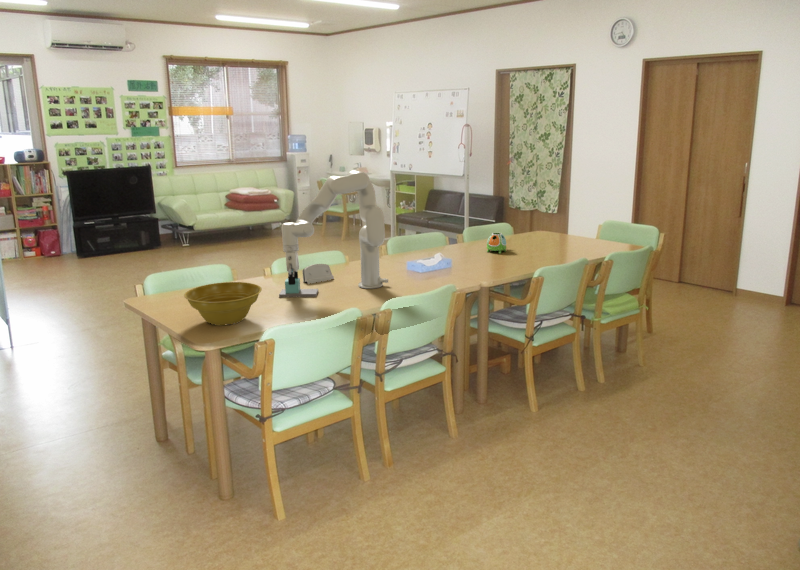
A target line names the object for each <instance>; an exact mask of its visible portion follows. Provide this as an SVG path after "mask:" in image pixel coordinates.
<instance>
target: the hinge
mask: <svg viewBox="0 0 800 570" xmlns="http://www.w3.org/2000/svg"><path fill="white" fill-rule="evenodd" d="M301 271H302V282H303V283H307V285H310V283H311V284H317V283H322V282H328V281H332V280H331V279H334V280H335V277H334V275H333V274H332V273H333V272H332V270H331V266H330V265H329V264H326V263H315V264H311V265H308V266H306V267H305V268H303V269H302V270H301ZM327 280H328V281H327ZM321 281H322V282H321ZM316 282H317V283H316Z"/></svg>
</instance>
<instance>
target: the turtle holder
mask: <svg viewBox="0 0 800 570" xmlns="http://www.w3.org/2000/svg"><path fill="white" fill-rule="evenodd" d="M506 239H507V238H506V236H504V234H502V232H492V233H491V235H489V237H488V238H487V241H486V249H487V251H486V252H487V253H489V252H491V251H494V252H497V251H498V254H501V253H502V251H503V252H507V240H506Z"/></svg>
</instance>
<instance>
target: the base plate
mask: <svg viewBox="0 0 800 570" xmlns="http://www.w3.org/2000/svg"><path fill="white" fill-rule="evenodd" d="M318 293H319V288H300V292H299V293H285V288H282V289H281V291H280V292H279V295H278V298H316V297H317V296H318Z"/></svg>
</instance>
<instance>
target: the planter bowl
mask: <svg viewBox="0 0 800 570" xmlns="http://www.w3.org/2000/svg"><path fill="white" fill-rule="evenodd" d="M262 291H263V290H262V287H261V286H260V285H258V284H256V283H251V282H243V281H237V282H236V281H226V282H224V281H223V282H217V283H215V282H214V283H209V284H204V285H201V286H196V287H194V288H191V289H189V290H187V291H186V292H185V293H184V294H183V297H184V298H185V299H186V300H187V302H188V303H189V305H190V307H192V308H193V309H195V310H197V311H198V313H199V314H200V316H201V317H202V318H203V320H205V322H206V323H208V324H210V323H211V325H213V324H216V325H215V326H226V325H225V324H231V325H234V324H233V323H235V324H238V323H240V322H242V321H243V320H244V319H246V317H247V316H248V314H249V312H250V309H251V308H252V305H253V304H255V303H256V301H257V300H258V298H259V295H260V293H261V292H262ZM239 321H240V322H239ZM237 322H238V323H237Z"/></svg>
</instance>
